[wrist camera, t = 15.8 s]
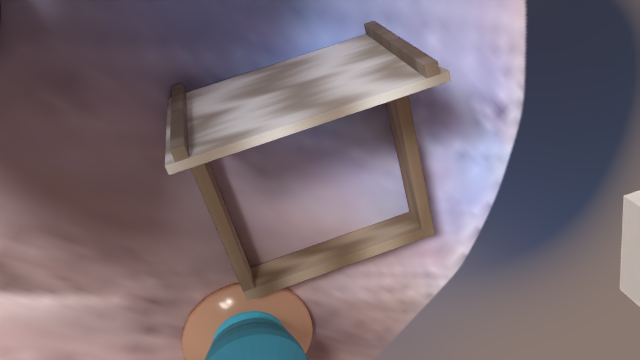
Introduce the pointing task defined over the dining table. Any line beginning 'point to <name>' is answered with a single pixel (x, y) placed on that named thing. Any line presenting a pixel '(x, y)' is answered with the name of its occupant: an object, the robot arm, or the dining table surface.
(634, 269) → the robot arm
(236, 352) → the perfume bottle
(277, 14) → the dining table surface
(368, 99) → the frame
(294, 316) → the saucer
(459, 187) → the dining table surface
